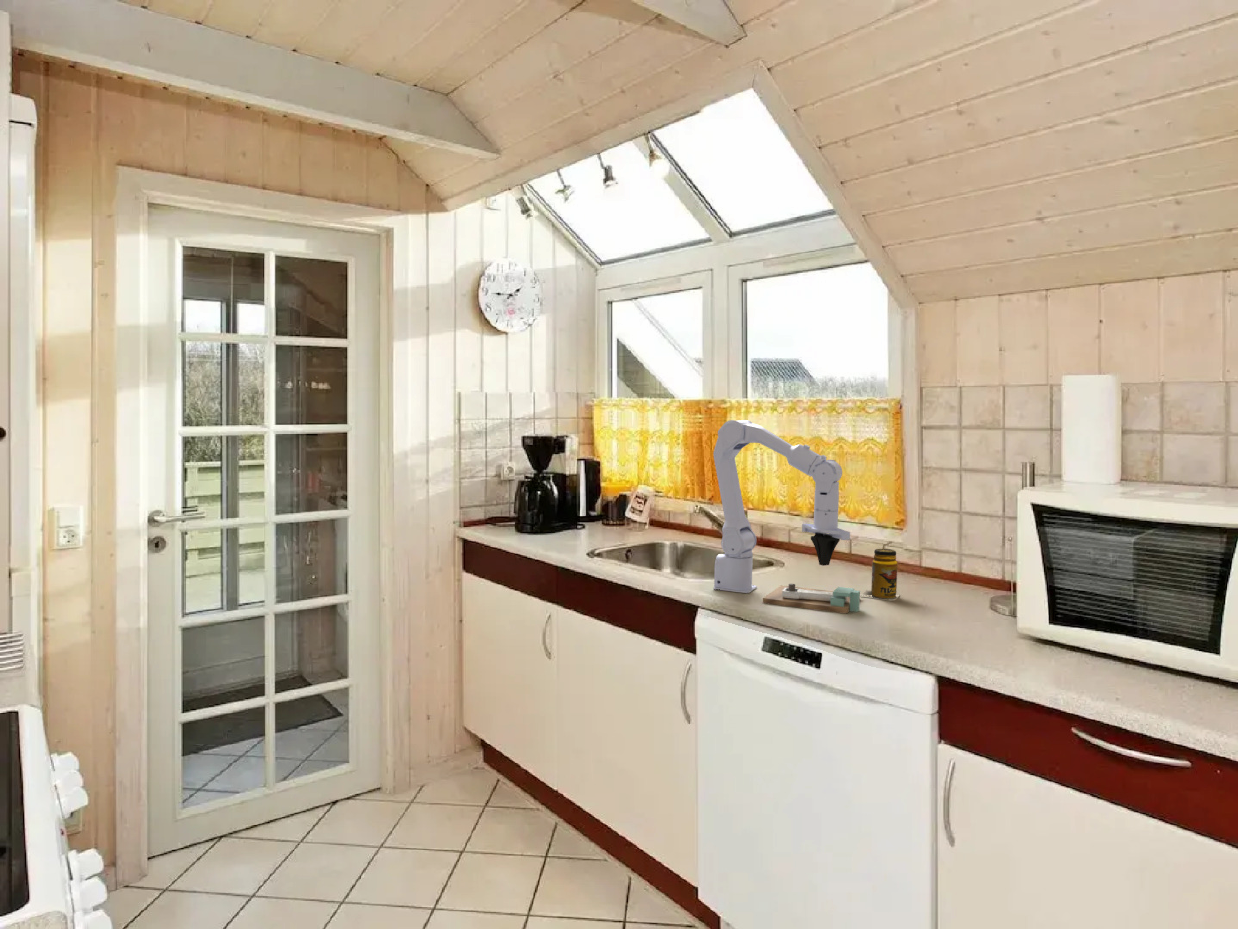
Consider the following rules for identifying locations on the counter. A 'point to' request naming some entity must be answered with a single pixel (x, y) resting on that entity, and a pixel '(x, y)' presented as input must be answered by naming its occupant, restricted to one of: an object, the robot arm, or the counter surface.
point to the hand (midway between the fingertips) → (824, 564)
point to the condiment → (883, 575)
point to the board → (803, 600)
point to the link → (810, 595)
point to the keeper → (846, 592)
